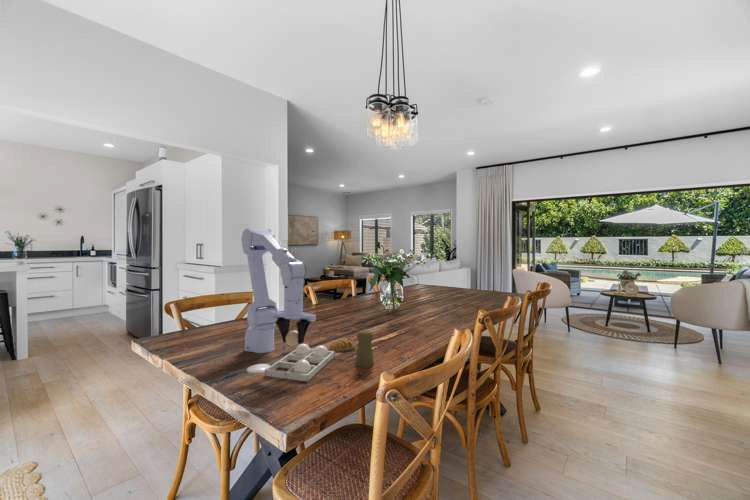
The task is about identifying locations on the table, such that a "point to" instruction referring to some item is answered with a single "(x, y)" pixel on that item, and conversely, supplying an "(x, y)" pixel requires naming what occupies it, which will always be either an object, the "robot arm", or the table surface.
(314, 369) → the egg carton
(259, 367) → the saucer
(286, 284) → the robot arm
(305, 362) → the white egg
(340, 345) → the pastry
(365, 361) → the olive green pepper mill
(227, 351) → the table surface
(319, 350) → the white egg
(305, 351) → the white egg
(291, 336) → the brown egg
